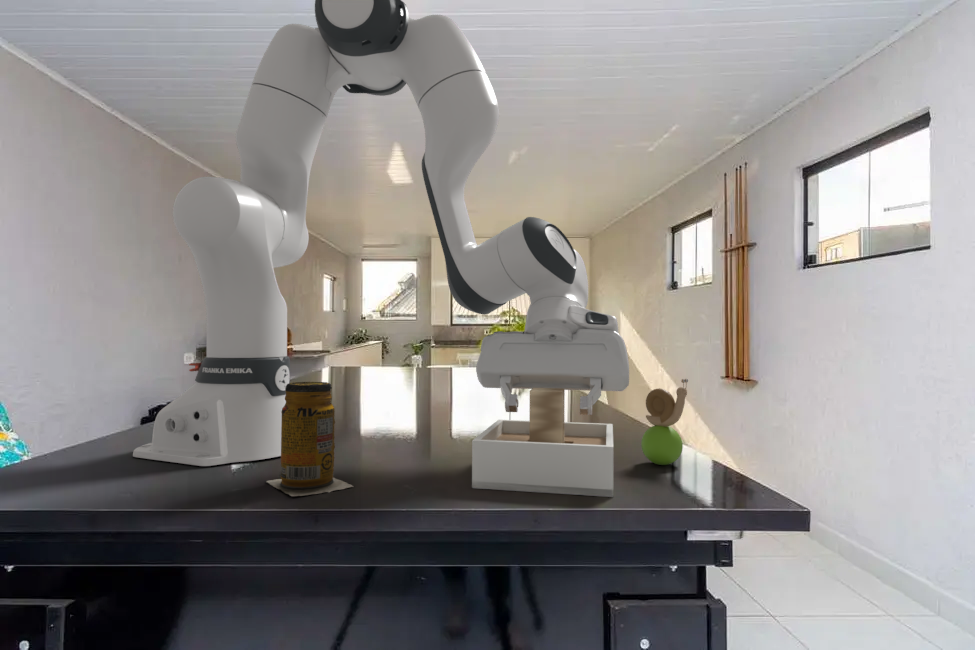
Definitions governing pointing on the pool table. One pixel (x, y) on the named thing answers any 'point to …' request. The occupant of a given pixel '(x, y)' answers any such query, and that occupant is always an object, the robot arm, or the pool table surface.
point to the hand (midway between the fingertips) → (547, 410)
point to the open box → (544, 459)
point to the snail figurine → (663, 426)
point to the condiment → (307, 441)
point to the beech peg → (547, 415)
